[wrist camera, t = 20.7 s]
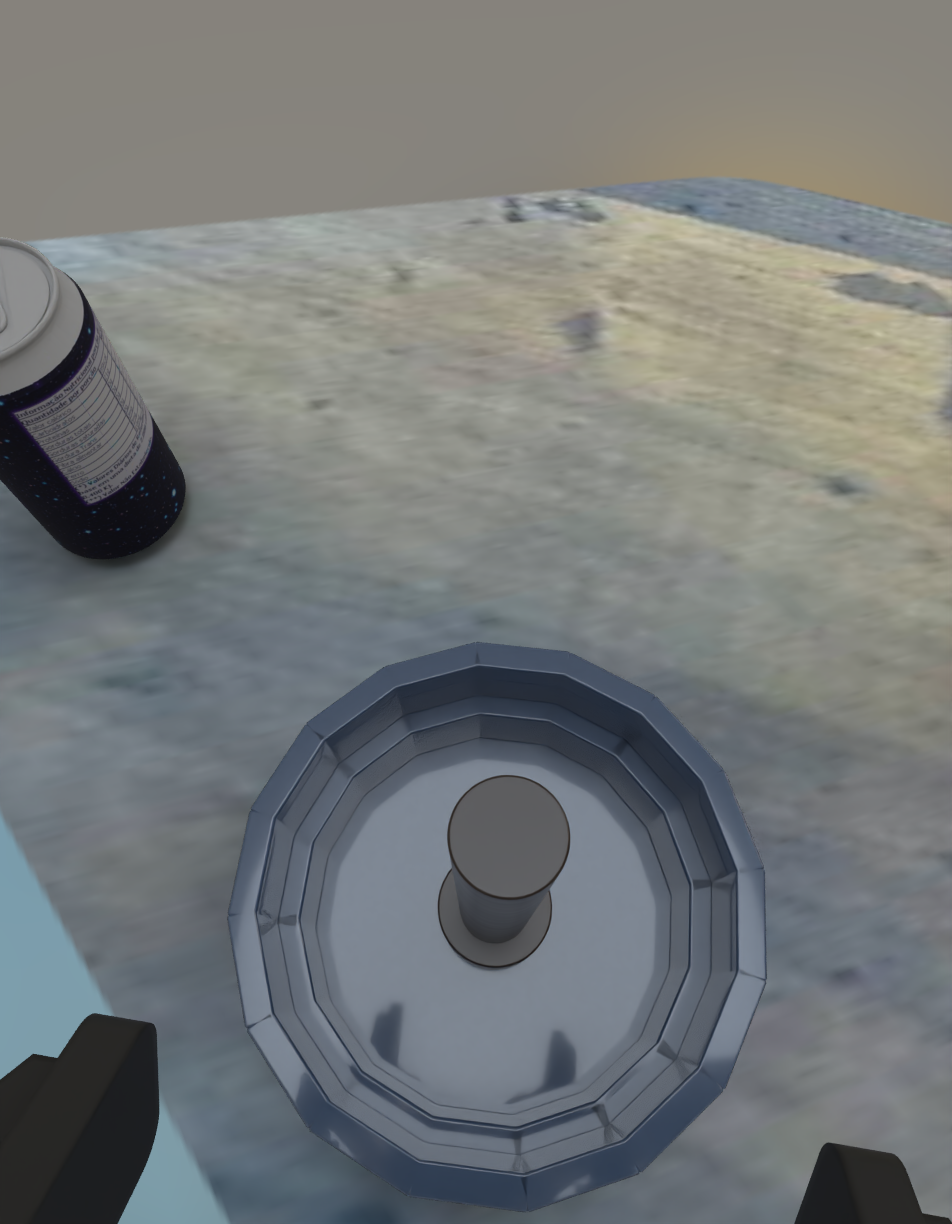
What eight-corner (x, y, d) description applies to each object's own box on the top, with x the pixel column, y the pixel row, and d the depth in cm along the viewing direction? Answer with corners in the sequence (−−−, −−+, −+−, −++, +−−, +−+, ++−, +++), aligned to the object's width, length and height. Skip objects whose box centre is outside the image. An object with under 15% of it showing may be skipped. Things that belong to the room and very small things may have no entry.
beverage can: (163, 431, 38) (37, 201, 27) (212, 532, 36) (97, 329, 25) (36, 484, 37) (-150, 268, 26) (79, 592, 35) (-103, 406, 24)
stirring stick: (553, 865, 30) (618, 752, 16) (540, 977, 29) (600, 959, 15) (448, 849, 30) (426, 724, 16) (431, 960, 29) (390, 925, 15)
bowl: (798, 949, 30) (879, 936, 24) (457, 1278, 26) (452, 1361, 20) (521, 635, 34) (531, 559, 28) (198, 878, 31) (131, 848, 25)
